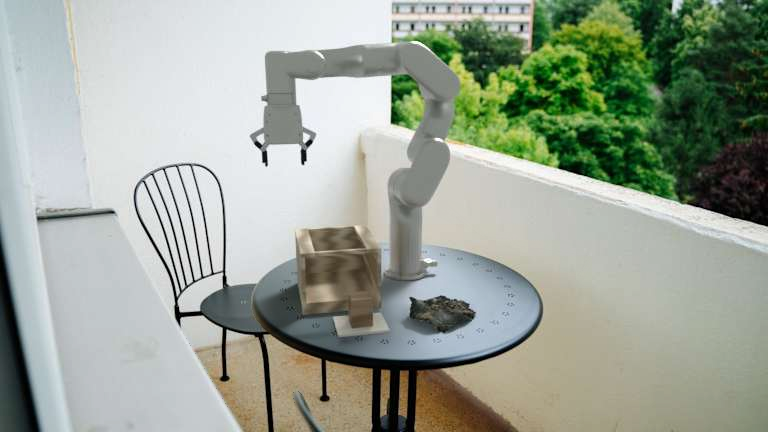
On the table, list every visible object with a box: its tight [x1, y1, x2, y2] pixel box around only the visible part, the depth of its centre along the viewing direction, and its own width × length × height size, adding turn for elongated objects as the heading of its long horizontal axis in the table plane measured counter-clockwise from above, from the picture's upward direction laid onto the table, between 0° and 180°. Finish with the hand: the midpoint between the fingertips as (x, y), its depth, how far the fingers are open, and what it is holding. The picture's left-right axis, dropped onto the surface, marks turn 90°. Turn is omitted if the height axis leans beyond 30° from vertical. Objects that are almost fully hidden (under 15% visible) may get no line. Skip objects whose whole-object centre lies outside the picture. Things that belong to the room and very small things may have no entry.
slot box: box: [294, 224, 383, 316], centre depth 155 cm, size 20×22×16 cm
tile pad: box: [332, 312, 390, 338], centre depth 139 cm, size 12×10×1 cm
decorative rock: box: [408, 295, 477, 334], centre depth 144 cm, size 19×6×15 cm
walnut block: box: [347, 291, 374, 328], centre depth 138 cm, size 5×5×7 cm
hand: (284, 165), depth 155 cm, fingers open, 9 cm apart
